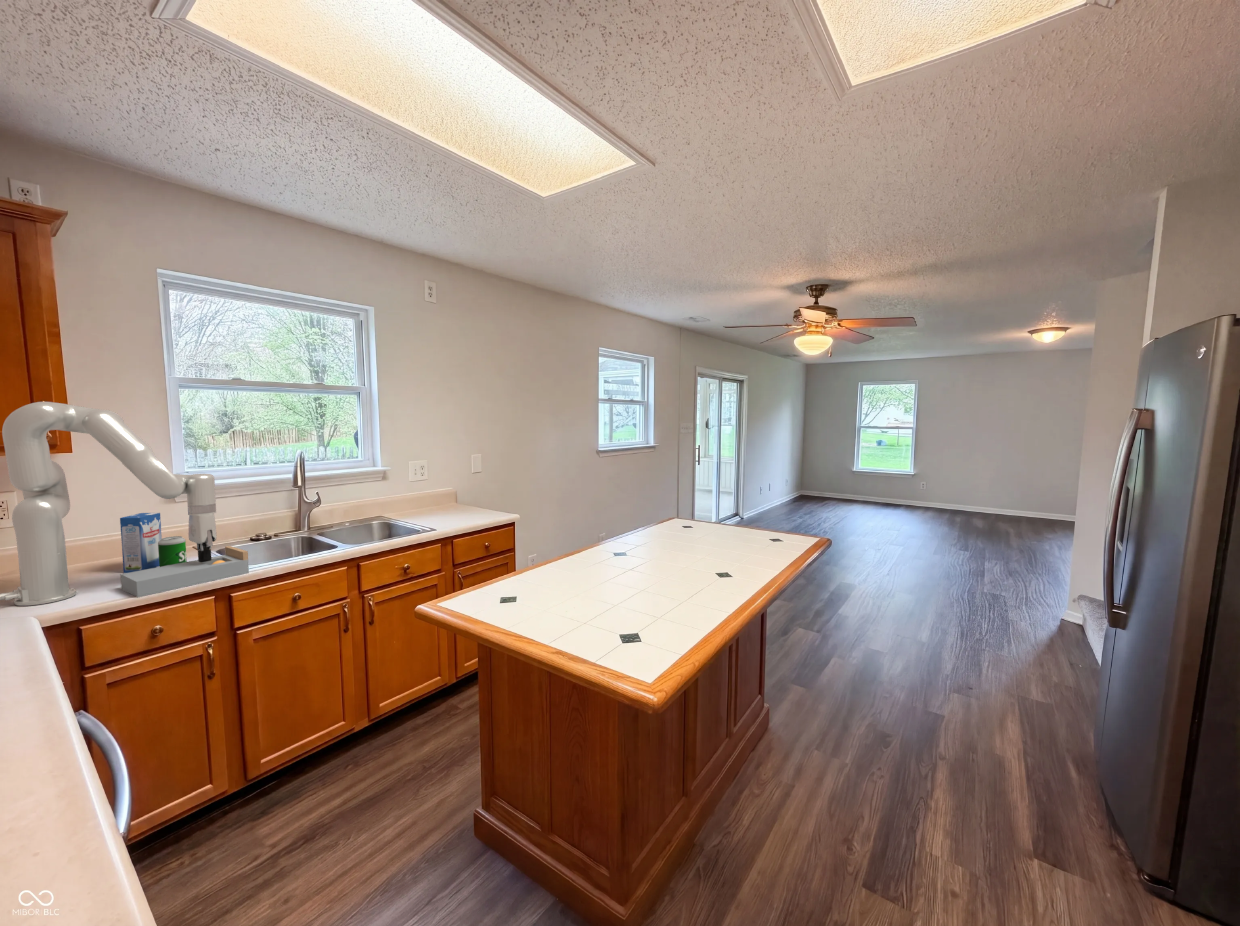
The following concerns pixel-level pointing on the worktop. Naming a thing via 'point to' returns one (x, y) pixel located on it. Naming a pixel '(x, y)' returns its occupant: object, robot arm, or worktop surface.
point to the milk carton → (140, 541)
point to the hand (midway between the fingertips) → (204, 561)
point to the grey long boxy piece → (185, 573)
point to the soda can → (172, 550)
